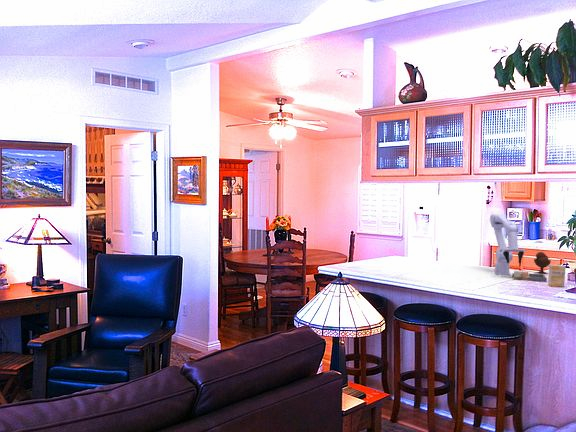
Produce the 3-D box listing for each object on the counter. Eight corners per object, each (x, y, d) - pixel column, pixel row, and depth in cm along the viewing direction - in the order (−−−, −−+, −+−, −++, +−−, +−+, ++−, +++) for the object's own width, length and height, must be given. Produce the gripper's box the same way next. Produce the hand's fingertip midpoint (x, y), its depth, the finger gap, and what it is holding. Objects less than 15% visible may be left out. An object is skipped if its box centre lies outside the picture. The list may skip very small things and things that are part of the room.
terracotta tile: (521, 275, 371) (521, 272, 371) (521, 274, 375) (521, 271, 375) (528, 276, 370) (528, 272, 370) (527, 275, 374) (527, 271, 374)
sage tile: (514, 275, 373) (514, 271, 373) (513, 274, 377) (514, 270, 376) (520, 275, 372) (521, 272, 371) (520, 274, 375) (520, 271, 375)
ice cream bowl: (548, 275, 389) (549, 253, 388) (531, 273, 396) (532, 252, 395) (551, 273, 397) (553, 252, 396) (535, 271, 404) (536, 250, 403)
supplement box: (550, 286, 346) (551, 265, 345) (547, 285, 351) (549, 264, 350) (564, 287, 345) (565, 265, 344) (561, 285, 350) (563, 264, 349)
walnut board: (514, 279, 368) (514, 276, 368) (512, 276, 382) (512, 273, 381) (530, 280, 365) (530, 277, 365) (528, 277, 379) (528, 274, 379)
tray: (531, 280, 365) (531, 277, 365) (528, 277, 379) (528, 273, 379) (546, 281, 362) (546, 278, 362) (543, 278, 376) (543, 274, 376)
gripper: (503, 241, 372) (504, 262, 370) (526, 241, 372) (527, 262, 369) (500, 243, 379) (501, 263, 377) (522, 243, 379) (523, 263, 376)
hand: (514, 263), depth 373 cm, fingers open, 7 cm apart
